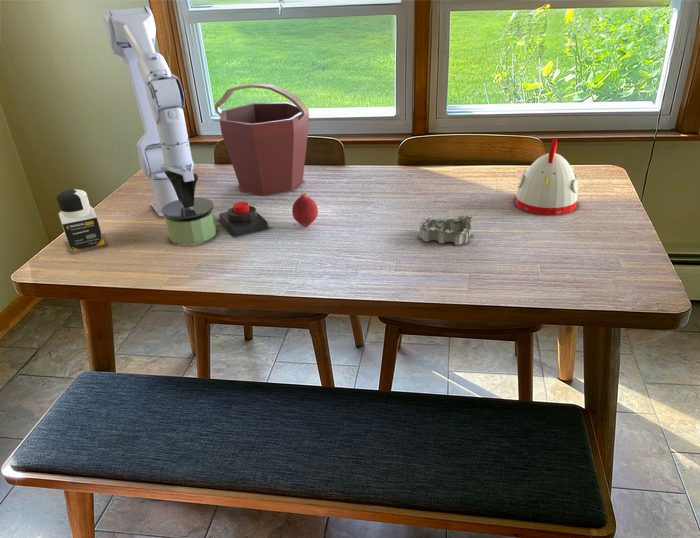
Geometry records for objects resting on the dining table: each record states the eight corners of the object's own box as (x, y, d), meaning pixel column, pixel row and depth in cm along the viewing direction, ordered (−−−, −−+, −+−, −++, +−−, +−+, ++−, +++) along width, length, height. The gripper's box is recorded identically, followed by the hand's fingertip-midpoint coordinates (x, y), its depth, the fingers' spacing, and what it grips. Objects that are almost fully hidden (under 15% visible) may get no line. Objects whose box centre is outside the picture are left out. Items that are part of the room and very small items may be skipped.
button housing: (219, 220, 146) (217, 206, 144) (251, 213, 149) (249, 199, 147) (234, 236, 138) (232, 222, 136) (268, 228, 141) (266, 214, 139)
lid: (157, 208, 138) (152, 188, 135) (205, 198, 142) (202, 178, 139) (169, 225, 129) (164, 204, 127) (220, 214, 133) (217, 193, 131)
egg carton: (473, 233, 134) (474, 216, 132) (464, 247, 128) (465, 229, 126) (426, 227, 138) (427, 210, 135) (415, 240, 132) (416, 222, 130)
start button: (231, 211, 142) (230, 203, 141) (246, 207, 143) (245, 200, 142) (236, 216, 139) (235, 208, 138) (251, 212, 141) (250, 205, 140)
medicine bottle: (71, 253, 134) (54, 200, 127) (67, 242, 139) (51, 190, 132) (105, 246, 136) (90, 193, 129) (100, 235, 142) (85, 184, 135)
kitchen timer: (510, 211, 143) (518, 146, 135) (520, 191, 154) (527, 129, 145) (573, 217, 139) (584, 150, 130) (578, 196, 149) (589, 133, 141)
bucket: (209, 189, 164) (192, 90, 150) (261, 165, 179) (249, 72, 165) (283, 204, 153) (271, 98, 139) (331, 177, 168) (325, 79, 154)
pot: (165, 233, 141) (159, 210, 138) (208, 223, 145) (204, 201, 141) (176, 249, 133) (171, 226, 130) (222, 239, 137) (218, 215, 134)
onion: (315, 232, 138) (312, 197, 133) (290, 231, 139) (287, 196, 135) (321, 222, 143) (319, 188, 138) (297, 220, 144) (294, 187, 139)
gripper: (147, 136, 131) (161, 198, 139) (163, 153, 120) (177, 219, 128) (180, 131, 133) (191, 192, 141) (198, 147, 123) (210, 212, 130)
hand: (187, 204), depth 135 cm, fingers closed on lid, 2 cm apart
